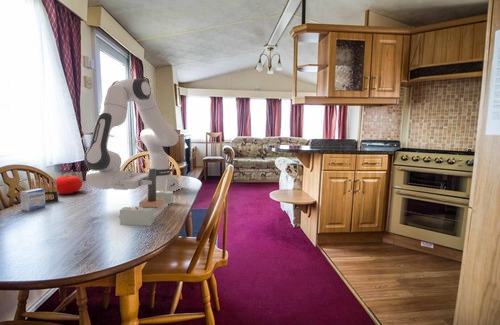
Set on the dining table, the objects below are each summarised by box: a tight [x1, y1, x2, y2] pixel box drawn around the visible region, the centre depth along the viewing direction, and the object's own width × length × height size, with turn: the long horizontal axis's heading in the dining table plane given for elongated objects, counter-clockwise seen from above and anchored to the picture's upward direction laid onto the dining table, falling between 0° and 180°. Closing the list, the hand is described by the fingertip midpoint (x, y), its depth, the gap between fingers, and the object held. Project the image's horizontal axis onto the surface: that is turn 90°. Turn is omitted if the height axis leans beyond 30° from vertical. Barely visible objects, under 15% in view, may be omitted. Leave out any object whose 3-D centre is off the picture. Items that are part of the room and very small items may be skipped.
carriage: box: [138, 168, 164, 207], centre depth 123 cm, size 8×9×17 cm
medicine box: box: [19, 188, 46, 212], centre depth 121 cm, size 8×4×9 cm, turn 168°
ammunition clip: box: [30, 177, 59, 203], centre depth 131 cm, size 11×2×12 cm, turn 120°
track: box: [119, 191, 174, 226], centre depth 121 cm, size 34×12×6 cm, turn 1°
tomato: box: [55, 174, 83, 195], centre depth 150 cm, size 14×13×10 cm
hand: (153, 181), depth 123 cm, fingers closed on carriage, 4 cm apart
